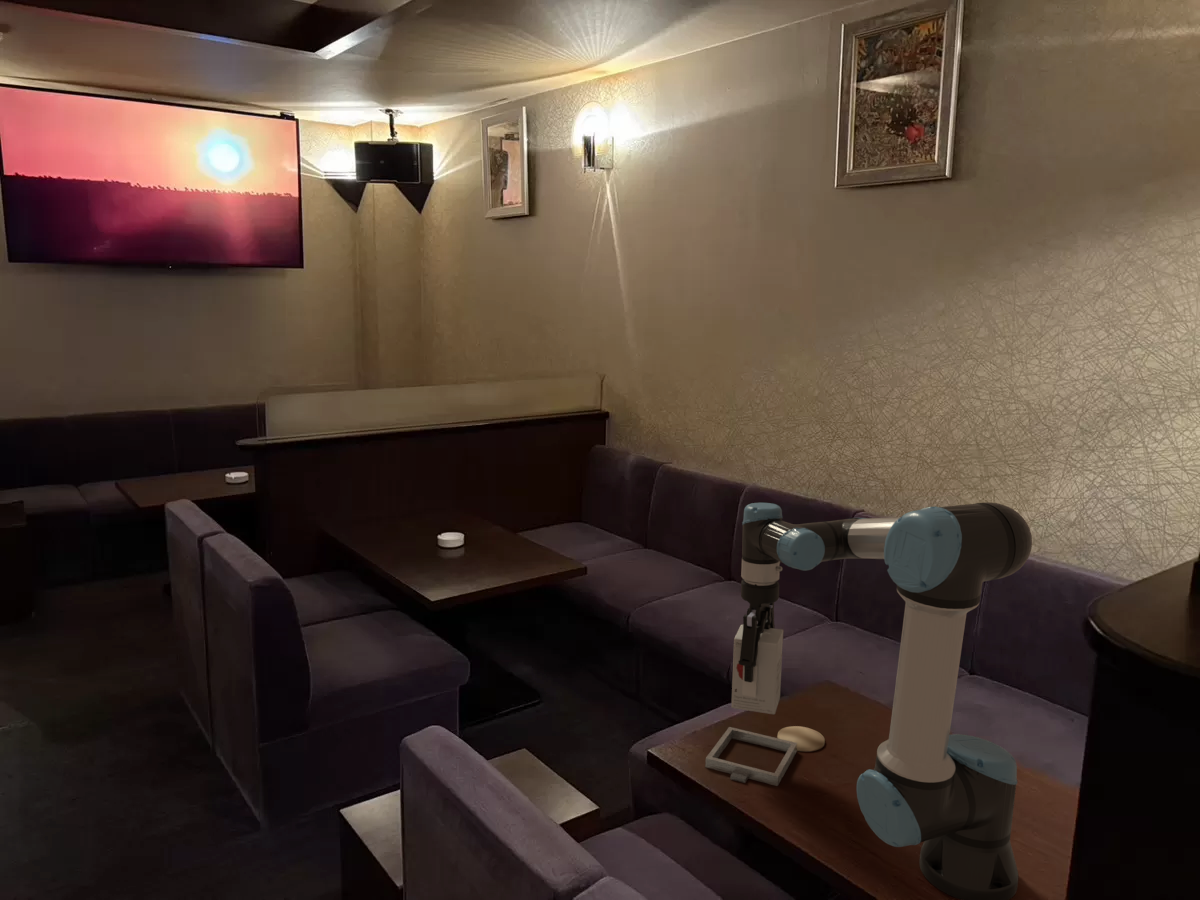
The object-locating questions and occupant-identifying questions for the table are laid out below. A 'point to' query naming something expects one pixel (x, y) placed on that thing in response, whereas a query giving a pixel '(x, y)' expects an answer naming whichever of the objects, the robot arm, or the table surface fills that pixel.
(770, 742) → the grey frame with tab
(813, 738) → the coaster
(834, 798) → the table surface
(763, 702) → the supplement box
